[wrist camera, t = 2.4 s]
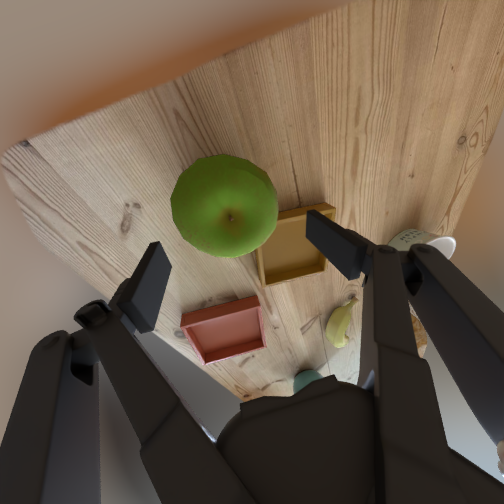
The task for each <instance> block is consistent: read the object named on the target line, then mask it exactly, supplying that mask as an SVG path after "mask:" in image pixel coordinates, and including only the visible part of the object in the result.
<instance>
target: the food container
mask: <svg viewBox="0 0 504 504" xmlns="http://www.w3.org/2000/svg"><path fill="white" fill-rule="evenodd" d="M416 243H421V244H428V245H431V246H433V247H435V248H437V249H438V250H439V251H440V252H441V253H442V254H443V255H444V256H445V257H446V258H447V259H448V260H449V258H450V257H451V256H452V254H453V253H454V250H455V248H456V241H455V239H454V238H453V237H452V236H447V235H445V236H440V235H436V234H432V233H428V232H424V231H420V230H416V229H408V230H405V231H403V232H401V233H399V234H398V235H396V236H395V237H394V238H393V239H392V240H391V241H390V242H389V244H388V246H391V247H394V248H395V249H397V250H398V251H409V248H410V246H411V245H412V244H416Z"/></svg>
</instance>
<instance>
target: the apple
mask: <svg viewBox="0 0 504 504" xmlns="http://www.w3.org/2000/svg"><path fill="white" fill-rule="evenodd" d="M170 201H171V208H172V215H173V221H174V223H175V225H176V226H177V228H178V230H179V232H180V233H181V235H182V237H183V239H185V240H186V241H187V242H189V243H190V244H191V245H193V246H194V247H195V248H197V249H198V250H200V251H202V252H205V253H207V254H210V255H212V256H215V257H225V258H235V257H239V256H242V255H245V254H248V253H251V252H252V251H254V250H255V249H257V248H258V247H260V246H261V245H262V244H264V243H265V242H266V241H267V239H268V238H269V237H270V235H271V234H272V233H273V231H274V230H275V229H276V224H277V217H278V211H279V208H278V201H277V193H276V190H275V188H274V186H273V184H272V182H271V180H270V178H269V177H268V175H267V173H266V172H265V171H263V170H262V169H260V168H259V167H257V166H256V165H255V164H253V163H252V162H250V161H249V160H246V159H242V158H238V157H234V156H230V155H225V154H222V155H216V156H211V157H206V158H200V159H198V160H196V161H195V162H194V163H193V164H192V165H191V166H190V167H189V168H188V169H187V170H185V171H184V172H183V173H182V174H181V175H180V176H179V178H178V181H177V183H176V185H175V188H174V190H173V193H172V195H171V198H170Z"/></svg>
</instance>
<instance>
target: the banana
mask: <svg viewBox="0 0 504 504" xmlns="http://www.w3.org/2000/svg"><path fill="white" fill-rule="evenodd" d="M358 301H359V300H358V299H357V298H356V297H353V298H352V300H351V302H350V303H349V304H347V305H346V306H343V307H338V308H337V309H335V310H334V311H333V313H332V315H331V317H330V319H329V321H328V324H327V327H326V338H327V339H328V340H329V341H330V342H331V343H332V344H333V345H334V346H335V347H336V348H340V347H344V346H346V345H347V344H348V342H349V337H348V336H347V335H345V332H346V329H347V327H348V325H349V322H350V319H351V308H352V307H353V305H354V304H356V303H357V302H358Z"/></svg>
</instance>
